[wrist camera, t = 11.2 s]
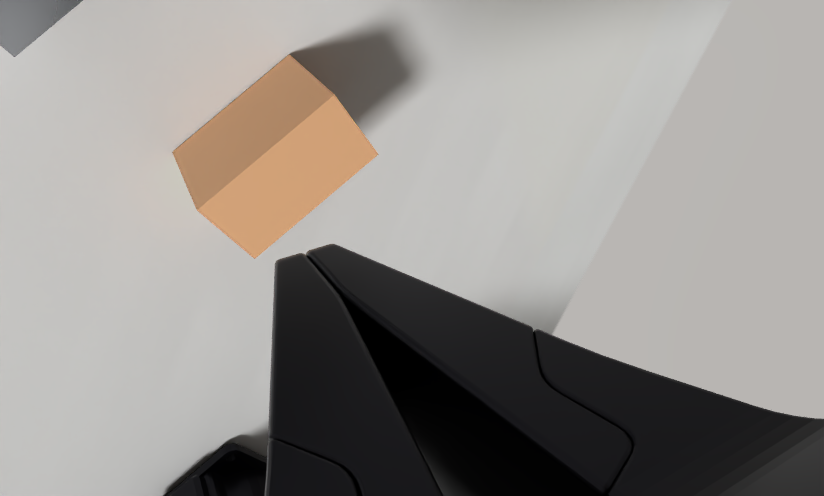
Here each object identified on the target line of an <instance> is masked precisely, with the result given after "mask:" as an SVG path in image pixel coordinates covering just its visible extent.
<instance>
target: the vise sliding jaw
mask: <svg viewBox="0 0 824 496" xmlns="http://www.w3.org/2000/svg"><path fill="white" fill-rule="evenodd" d="M172 153H173V155H174V157H175V160H176V162H177V164H178V167H179V169H180V171H181V174H182V176H183V178H184V181H185V183H186V186H187V188H188V190H189V193H190V195H191V197H192V200H193V202H194V204H195V207H196V209H197V211H198V212H200V213H201V214H202V215H203V216H204V217H206V218H207V219H208V220H209V221H210V222H211V223H213V224H214V225H215V226H216V227H217V228H219V229H220V230H221V231H222V232H223V233H225V234H226V235H227V236H228V237H229V238H230V239H232V240H233V241H234V242H235V243H236V244H238V245H239V246H240V247H241V248H242V249H243V250H245V251H246V252H247V253H248V254H249V255H251V256H252V257H253V258H254V259H255V258H256V257H258V256H259V255H260V254H261V253H262V252H263V251H265V250H266V249H267V248H268V247H269V246H271V245H272V244H273V243H274V242H275V241H276V240H278V239H279V238H280V237H281V236H282V235H284V234H285V233H286V232H287V231H288V230H289V229H291V228H292V227H293V226H294V225H295V224H297V223H298V222H299V221H300V220H301V219H302V218H304V217H305V216H306V215H307V214H308V213H310V212H311V211H312V210H313V209H314V208H315V207H317V206H318V205H319V204H320V203H321V202H323V201H324V200H325V199H326V198H327V197H328V196H330V195H331V194H332V193H333V192H334V191H336V190H337V189H338V188H339V187H340V186H342V185H343V184H344V183H345V182H346V181H347V180H349V179H350V178H351V177H352V176H353V175H355V174H356V173H357V172H358V171H359V170H360V169H362V168H363V167H364V166H365V165H366V164H368V163H369V162H370V161H371V160H372V159H373V158H375V157H376V156H377V155H378V153H377V152H376V150H375V149H374V148H373V146H372V145H371V144H370V142H369V141H368V140H367V138H366V137H365V135H364V134H363V133H362V131H361V130H360V129H359V127H358V126H357V125H356V123H355V122H354V120H353V119H352V118H351V116H350V115H349V114H348V112H347V111H346V110H345V108H344V107H343V106H342V104H341V103H340V101H339V100H338V99H337V97H336V96H335V95H334V94H333V93H332V92H331V91H330V90H329V89H328V88H327V87H325V86H324V85H323V84H322V83H321V82H320V81H319V80H318V79H316V78H315V77H314V76H313V75H312V74H311V73H310V72H309V71H308V70H306V69H305V68H304V67H303V66H302V65H301V64H300V63H299V62H297V61H296V60H295V59H294V58H293V57H292V56H291V55H290V54H289V55H288V56H287V57H286V58H284V59H283V60H282V61H281V62H280V63H278V64H277V65H276V66H275V67H274V68H272V69H271V70H270V71H269V72H268V73H266V74H265V75H264V76H263V77H262V78H260V79H259V80H258V81H257V82H256V83H254V84H253V85H252V86H251V87H250V88H248V89H247V90H246V91H245V92H244V93H242V94H241V95H240V96H239V97H238V98H236V99H235V100H234V101H233V102H232V103H230V104H229V105H228V106H227V107H226V108H225V109H223V110H222V111H221V112H220V113H219V114H217V115H216V116H215V117H214V118H213V119H211V120H210V121H209V122H208V123H207V124H205V125H204V126H203V127H202V128H201V129H199V130H198V131H197V132H196V133H195V134H193V135H192V136H191V137H190V138H189V139H187V140H186V141H185V142H184V143H183V144H181V145H180V146H179V147H178V148H177V149H175V150H174V151H173V152H172Z"/></svg>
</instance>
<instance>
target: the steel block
mask: <svg viewBox="0 0 824 496" xmlns="http://www.w3.org/2000/svg"><path fill="white" fill-rule="evenodd" d="M81 1H83V0H0V45H1V46H2V47H3V48H4V49H5V50H7V51H8V52H9V53H10V54H11V55H13V56H14V57H15V56H17V55H18V54H19V53H20V52H21V51H23V50H24V49H25V48H26V47H27V46H29V45H30V44H31V43H32V42H33V41H35V40H36V39H37V38H38V37H39V36H41V35H42V34H43V33H44V32H45V31H47V30H48V29H49V28H50V27H51V26H53V25H54V24H55V23H56V22H57V21H59V20H60V19H61V18H62V17H63V16H65V15H66V14H67V13H68V12H69V11H71V10H72V9H73V8H74V7H75V6H77V5H78V4H79V3H80V2H81Z"/></svg>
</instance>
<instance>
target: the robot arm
mask: <svg viewBox="0 0 824 496" xmlns="http://www.w3.org/2000/svg"><path fill="white" fill-rule="evenodd" d="M268 440H269V442H268V446H267V458H265V457H263V456H261V455H259V454H257V453H255V452H253V451H251V450H249V449H247V448H244V447H242V446H240V445H238V444H229V445H226V446H224V447H223V448H222V449H220V450H219V451H218V452H217V453H216V454H215V455H213V456H212V457H211V458H210V459H209V460H208V461H206V462H205V463H204V464H203V465H202V466H201V467H199V468H198V469H197V470H196V471H195V472H194V473H192V474H191V475H190V476H189V477H188V478H187V479H185V480H184V481H183V482H182V483H181V484H179V485H178V486H177V487H176V488H175V489H174V490H172V491H171V492H170V493H169V494H168V495H167V496H824V419H814V418H806V417H798V416H792V415H788V414H783V413H778V412H774V411H770V410H767V409H763V408H760V407H756V406H753V405H750V404H747V403H744V402H741V401H738V400H735V399H732V398H729V397H725V396H723V395H719V394H716V393H713V392H710V391H707V390H704V389H701V388H698V387H695V386H692V385H689V384H686V383H683V382H680V381H677V380H674V379H670V378H667V377H664V376H661V375H658V374H655V373H652V372H649V371H646V370H643V369H640V368H637V367H635V366H632V365H629V364H626V363H623V362H620V361H617V360H615V359H612V358H609V357H606V356H603V355H600V354H598V353H595V352H593V351H590V350H588V349H585V348H583V347H580V346H578V345H575V344H572V343H570V342H567V341H565V340H562V339H560V338H558V337H555V336H553V335H550V334H548V333H546V332H543V331H541V330H538V329H536V330H535V331H534V332H533V328H532V327H531V326H529V325H526V324H524V323H521V322H519V321H517V320H514V319H512V318H509V317H507V316H505V315H502V314H500V313H498V312H495V311H493V310H490V309H488V308H486V307H483V306H481V305H478V304H476V303H474V302H471V301H469V300H467V299H464V298H462V297H459V296H457V295H455V294H452V293H450V292H448V291H445V290H443V289H440V288H438V287H436V286H433V285H431V284H428V283H426V282H424V281H421V280H419V279H417V278H414V277H412V276H409V275H407V274H405V273H402V272H400V271H397V270H395V269H393V268H390V267H388V266H386V265H383V264H381V263H378V262H376V261H374V260H371V259H369V258H367V257H364V256H362V255H359V254H357V253H355V252H352V251H350V250H347V249H345V248H343V247H340V246H338V245H335V244H329V245H326V246H322V247H319V248H316V249H312V250H309V251H308V252H307V253H306V255H305V254H303V253H299V254H296V255H292V256H289V257H286V258H282V259H279V260H277V261H276V263H275V276H274V302H273V328H272V354H271V379H270V405H269V431H268Z"/></svg>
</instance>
